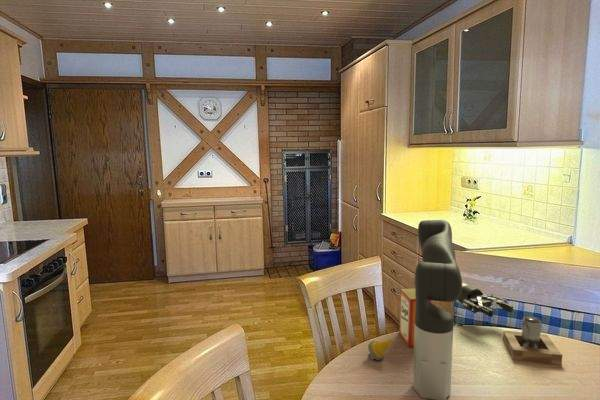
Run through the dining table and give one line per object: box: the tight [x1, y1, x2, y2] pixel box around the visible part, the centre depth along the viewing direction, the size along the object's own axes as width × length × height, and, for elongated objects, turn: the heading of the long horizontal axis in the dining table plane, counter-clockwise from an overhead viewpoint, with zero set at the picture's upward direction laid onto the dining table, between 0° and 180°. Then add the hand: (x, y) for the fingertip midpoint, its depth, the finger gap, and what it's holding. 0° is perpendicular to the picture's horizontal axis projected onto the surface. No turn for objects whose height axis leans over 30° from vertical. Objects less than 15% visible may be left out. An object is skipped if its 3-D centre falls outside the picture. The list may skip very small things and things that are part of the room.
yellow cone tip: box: [367, 339, 393, 361], centre depth 114 cm, size 5×5×10 cm
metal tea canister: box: [520, 315, 542, 349], centre depth 118 cm, size 5×5×10 cm
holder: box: [502, 330, 563, 366], centre depth 118 cm, size 12×12×3 cm
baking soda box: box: [398, 287, 432, 349], centre depth 125 cm, size 10×6×16 cm
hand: (502, 311), depth 127 cm, fingers open, 8 cm apart
